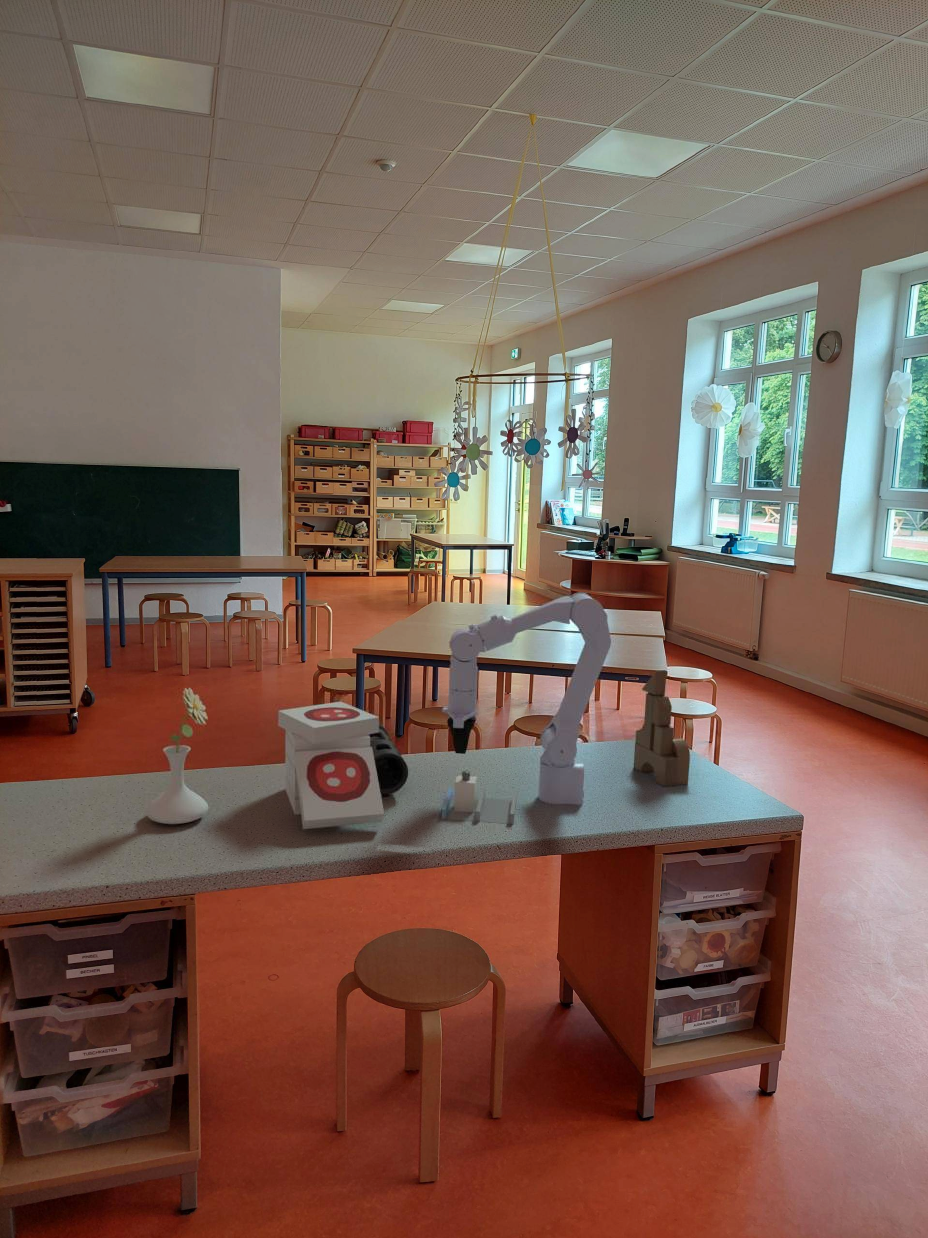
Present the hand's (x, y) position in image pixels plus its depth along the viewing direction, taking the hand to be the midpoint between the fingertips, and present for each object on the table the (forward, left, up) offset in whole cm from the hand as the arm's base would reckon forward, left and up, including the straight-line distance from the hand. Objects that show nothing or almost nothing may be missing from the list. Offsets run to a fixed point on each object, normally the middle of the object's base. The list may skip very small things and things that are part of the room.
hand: (460, 752), depth 183 cm
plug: (-2, +7, -9) cm, 12 cm away
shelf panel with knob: (-5, +7, -10) cm, 13 cm away
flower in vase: (+52, +19, -11) cm, 56 cm away
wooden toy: (-44, -26, -11) cm, 52 cm away
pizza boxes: (+25, +9, -11) cm, 28 cm away
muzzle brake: (+20, -11, -11) cm, 25 cm away
